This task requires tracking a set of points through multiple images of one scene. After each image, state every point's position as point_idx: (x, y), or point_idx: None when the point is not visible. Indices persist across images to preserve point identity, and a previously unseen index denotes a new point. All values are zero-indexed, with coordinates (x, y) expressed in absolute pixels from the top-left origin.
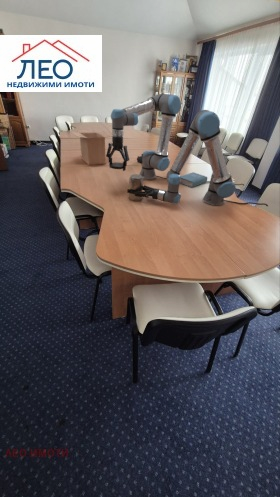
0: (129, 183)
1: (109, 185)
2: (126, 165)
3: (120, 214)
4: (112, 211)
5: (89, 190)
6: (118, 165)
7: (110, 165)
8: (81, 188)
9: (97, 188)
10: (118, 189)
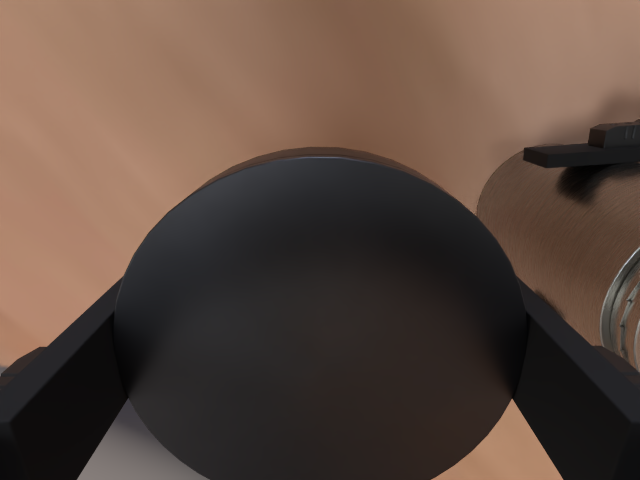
0: (561, 315)
1: (136, 71)
2: (612, 360)
3: (526, 474)
4: (463, 469)
5: (94, 300)
6: (383, 407)
7: (219, 476)
8: (8, 304)
9: (108, 223)
10: (290, 117)
